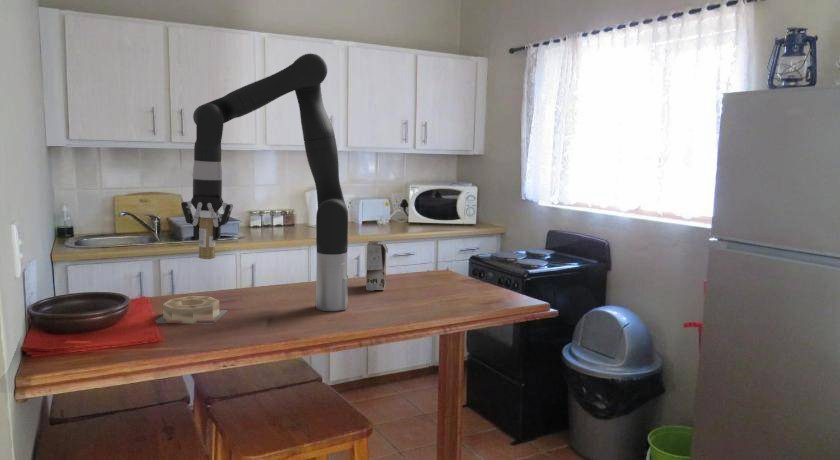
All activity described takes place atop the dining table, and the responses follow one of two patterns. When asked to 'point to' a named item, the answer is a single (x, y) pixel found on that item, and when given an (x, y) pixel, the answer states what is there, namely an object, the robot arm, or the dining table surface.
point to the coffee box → (376, 266)
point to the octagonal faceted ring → (191, 309)
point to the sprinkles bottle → (206, 236)
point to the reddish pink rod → (196, 321)
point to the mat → (221, 312)
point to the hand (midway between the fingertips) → (206, 239)
